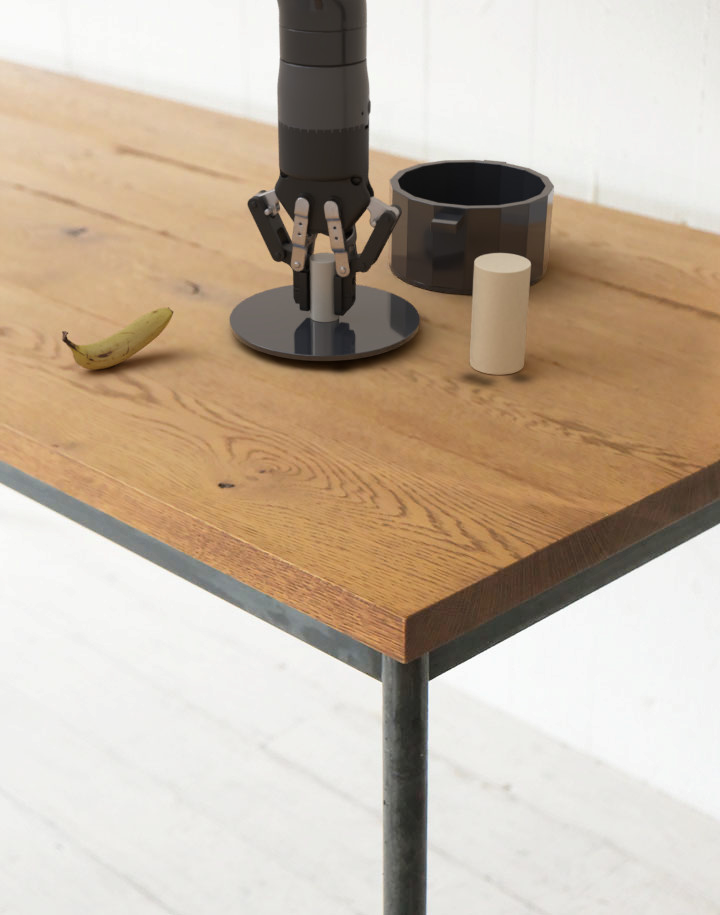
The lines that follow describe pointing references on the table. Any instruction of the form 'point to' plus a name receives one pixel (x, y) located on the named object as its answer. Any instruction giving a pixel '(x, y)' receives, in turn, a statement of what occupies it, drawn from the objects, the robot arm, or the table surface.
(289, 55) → the robot arm
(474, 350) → the beige wooden cylinder
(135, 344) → the banana
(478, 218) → the pot
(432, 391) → the table surface
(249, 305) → the lid
